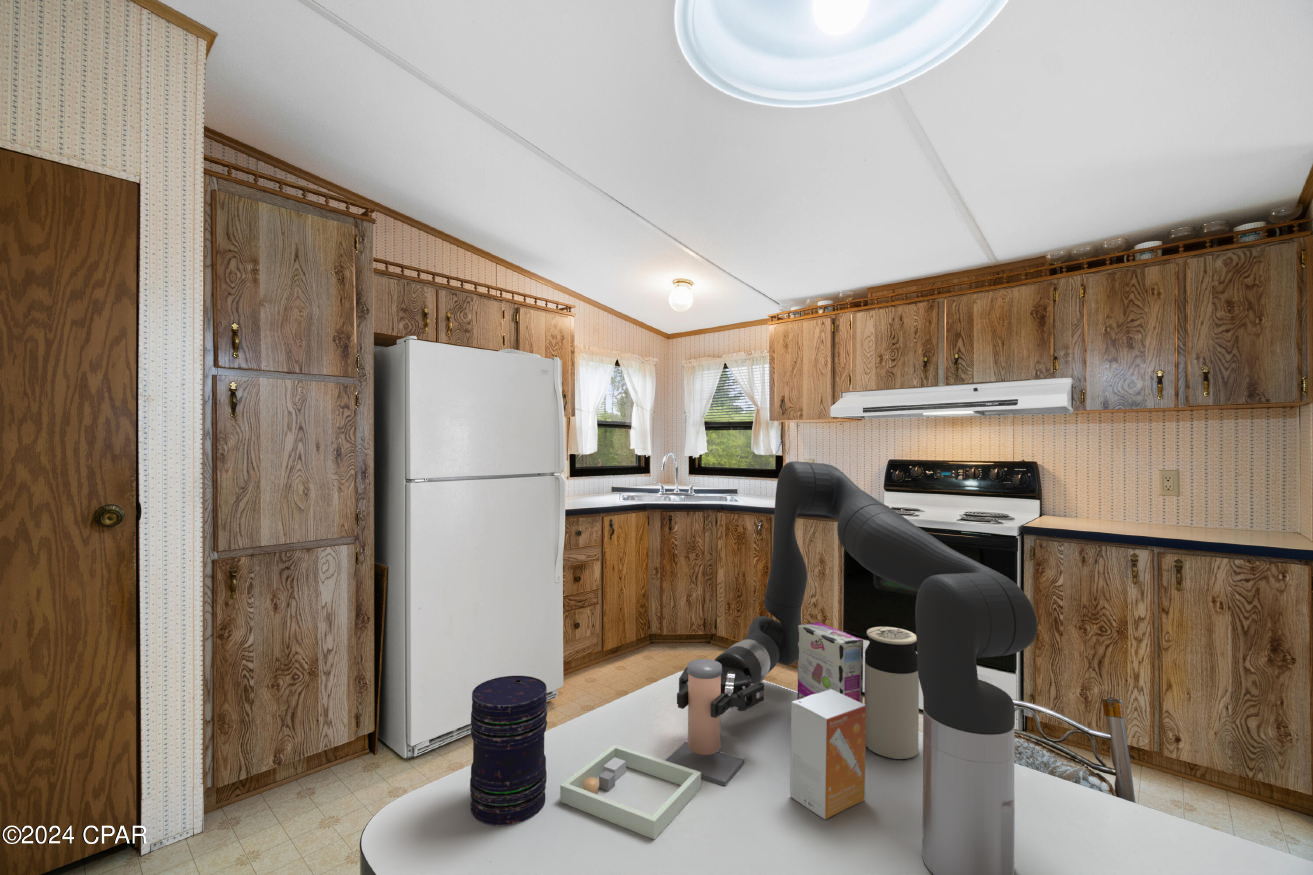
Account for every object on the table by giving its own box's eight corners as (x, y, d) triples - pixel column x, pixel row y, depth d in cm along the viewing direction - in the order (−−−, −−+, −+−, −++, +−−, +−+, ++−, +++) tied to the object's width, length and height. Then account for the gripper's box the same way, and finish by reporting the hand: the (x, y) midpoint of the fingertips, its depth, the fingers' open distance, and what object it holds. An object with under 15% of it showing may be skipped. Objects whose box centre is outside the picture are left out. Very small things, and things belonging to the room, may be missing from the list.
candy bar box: (864, 741, 97) (865, 639, 97) (840, 747, 95) (841, 643, 95) (818, 712, 107) (819, 620, 107) (795, 717, 105) (796, 623, 105)
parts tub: (700, 787, 83) (701, 772, 83) (654, 839, 72) (654, 821, 72) (614, 758, 91) (614, 744, 91) (560, 801, 80) (560, 784, 80)
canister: (726, 743, 90) (727, 663, 90) (712, 758, 86) (712, 674, 86) (696, 734, 93) (697, 656, 93) (680, 749, 89) (681, 667, 89)
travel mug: (929, 752, 94) (930, 636, 94) (896, 766, 89) (897, 645, 89) (885, 730, 100) (886, 623, 100) (853, 743, 96) (854, 630, 96)
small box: (825, 821, 76) (826, 718, 76) (788, 796, 81) (789, 700, 81) (866, 801, 81) (867, 703, 81) (829, 778, 86) (829, 687, 86)
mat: (744, 763, 90) (744, 759, 90) (725, 785, 84) (725, 781, 84) (685, 745, 95) (685, 741, 95) (663, 765, 89) (663, 761, 89)
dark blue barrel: (530, 830, 74) (531, 708, 74) (455, 821, 75) (457, 702, 75) (556, 785, 84) (557, 677, 84) (489, 778, 85) (491, 672, 85)
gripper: (703, 638, 105) (654, 670, 91) (782, 653, 98) (742, 691, 83) (703, 680, 105) (653, 719, 91) (782, 699, 98) (742, 745, 83)
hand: (696, 706), depth 87 cm, fingers closed on canister, 4 cm apart
